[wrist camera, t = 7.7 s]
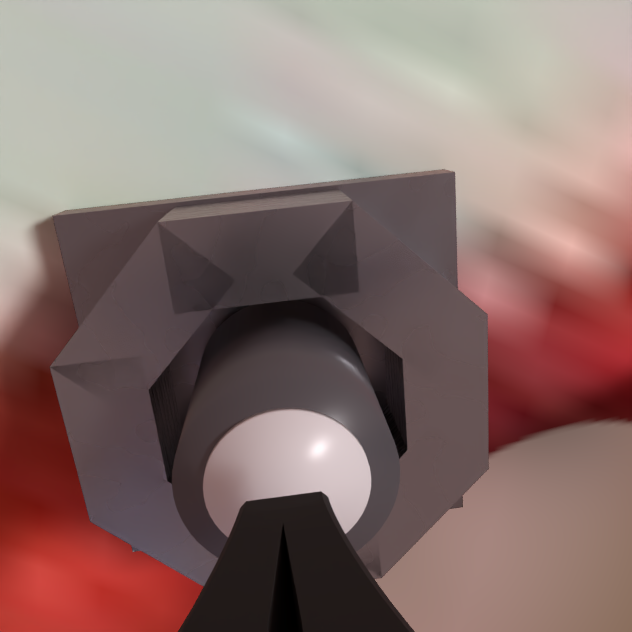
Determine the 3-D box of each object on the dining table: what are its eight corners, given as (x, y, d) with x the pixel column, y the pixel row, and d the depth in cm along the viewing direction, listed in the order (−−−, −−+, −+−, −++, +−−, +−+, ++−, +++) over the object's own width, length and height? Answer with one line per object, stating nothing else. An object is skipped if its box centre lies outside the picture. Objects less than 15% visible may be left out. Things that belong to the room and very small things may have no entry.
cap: (212, 455, 17) (189, 594, 12) (188, 309, 15) (151, 396, 10) (365, 436, 17) (406, 565, 12) (355, 290, 15) (397, 368, 11)
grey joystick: (139, 530, 18) (111, 618, 15) (65, 210, 15) (9, 233, 12) (452, 488, 19) (493, 565, 15) (443, 169, 16) (490, 180, 12)
